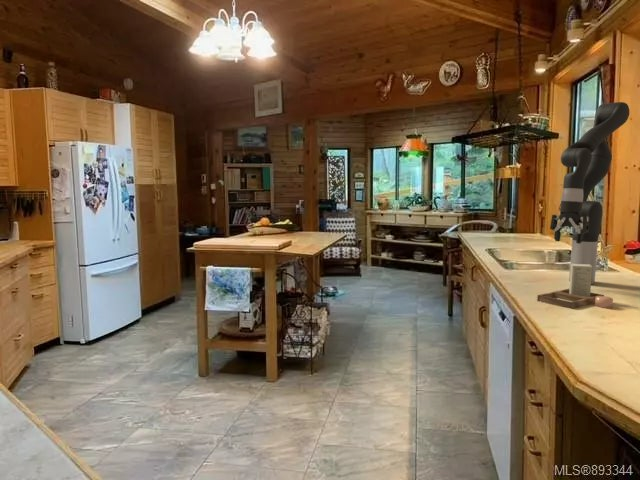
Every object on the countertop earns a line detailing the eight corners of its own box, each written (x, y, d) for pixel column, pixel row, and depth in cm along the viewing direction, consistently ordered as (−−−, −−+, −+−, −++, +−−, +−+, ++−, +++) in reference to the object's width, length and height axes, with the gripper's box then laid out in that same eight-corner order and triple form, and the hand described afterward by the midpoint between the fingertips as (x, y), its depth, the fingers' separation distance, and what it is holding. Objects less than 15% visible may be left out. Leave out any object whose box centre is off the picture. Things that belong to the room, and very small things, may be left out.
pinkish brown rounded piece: (599, 304, 168) (600, 295, 167) (614, 307, 164) (615, 298, 163) (591, 306, 165) (592, 297, 165) (607, 309, 161) (608, 300, 160)
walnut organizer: (569, 293, 182) (569, 288, 182) (603, 300, 172) (604, 294, 172) (537, 300, 170) (537, 295, 170) (571, 308, 161) (572, 302, 160)
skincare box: (587, 298, 175) (590, 264, 174) (590, 301, 171) (593, 266, 170) (568, 296, 178) (570, 263, 176) (569, 299, 173) (572, 265, 172)
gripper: (595, 201, 188) (591, 244, 189) (559, 200, 200) (556, 240, 201) (584, 200, 184) (580, 244, 185) (549, 199, 196) (545, 240, 197)
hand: (567, 242), depth 193 cm, fingers open, 8 cm apart
